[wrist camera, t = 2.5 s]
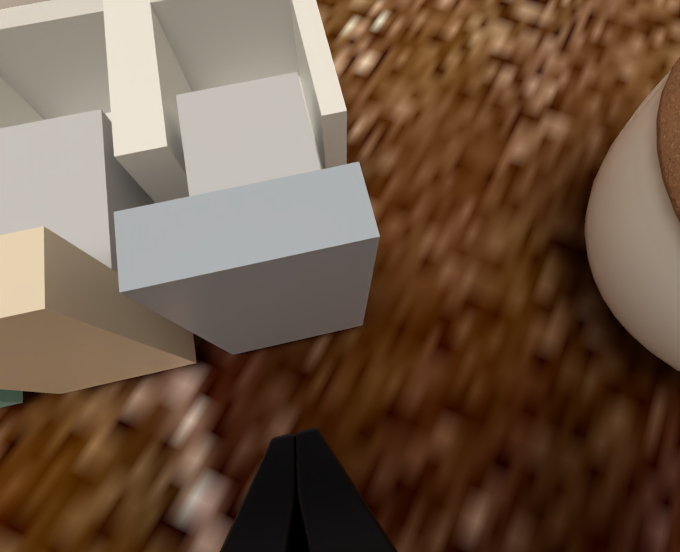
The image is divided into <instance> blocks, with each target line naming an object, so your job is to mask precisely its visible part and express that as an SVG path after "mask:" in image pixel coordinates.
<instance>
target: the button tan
mask: <svg viewBox="0 0 680 552" xmlns="http://www.w3.org/2000/svg"><path fill="white" fill-rule="evenodd" d="M150 204H155V202H154V201H153V200H152V199H151V197H150V196H149V195H148V194H147V193H146V192H145V191H144V190H143V188H142V187H141V186H140V185H139V184H138V183H137V182H136V181H135V179H134V178H133V177H132V176H131V175H130V174H129V173H128V172H127V170H126V169H125V168H124V167H123V166H122V165H121V164H120V163H119V161H118V160H117V159H116V158H115V157H114V148H113V134H112V122H111V121H110V119H109V118H108V117H107V116H106V114H105V113H104V112H103V111H102V109H99V110H94V111H89V112H83V113H78V114H73V115H68V116H62V117H57V118H52V119H47V120H41V121H36V122H31V123H26V124H20V125H15V126H10V127H4V128H0V389H4V390H16V391H29V392H42V393H55V394H63V393H67V392H72V391H76V390H80V389H85V388H89V387H94V386H98V385H102V384H107V383H111V382H116V381H120V380H124V379H129V378H133V377H138V376H142V375H146V374H151V373H155V372H160V371H164V370H168V369H173V368H177V367H182V366H186V365H190V364H195V363H197V362H196V354H195V345H194V337H193V333H192V332H190V331H188V330H187V329H185V328H183V327H181V326H179V325H178V324H176V323H174V322H172V321H170V320H168V319H167V318H165V317H163V316H161V315H159V314H157V313H156V312H154V311H152V310H150V309H148V308H147V307H145V306H143V305H141V304H139V303H137V302H136V301H134V300H132V299H130V298H128V297H126V296H125V295H123V294H121V293H119V281H118V267H117V253H116V238H115V224H114V212H116V211H120V210H125V209H130V208H135V207H140V206H145V205H150Z"/></svg>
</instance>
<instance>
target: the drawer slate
mask: <svg viewBox="0 0 680 552" xmlns="http://www.w3.org/2000/svg"><path fill="white" fill-rule="evenodd" d="M176 99H177V107H178V114H179V122H180V129H181V137H182V144H183V152H184V160H185V167H186V175H187V182H188V190H189V197H184V198H179V199H174V200H169V201H164V202H160V203H155V204H150V205H145V206H140V207H135V208H130V209H125V210H120V211H116V212H114V224H115V238H116V253H117V267H118V281H119V293H121V294H123V295H125V296H126V297H128V298H130V299H132V300H134V301H136V302H137V303H139V304H141V305H143V306H145V307H147V308H148V309H150V310H152V311H154V312H156V313H157V314H159V315H161V316H163V317H165V318H167V319H168V320H170V321H172V322H174V323H176V324H178V325H179V326H181V327H183V328H185V329H187V330H188V331H190V332H192V333H194V334H196V335H198V336H199V337H201V338H203V339H205V340H207V341H209V342H210V343H212V344H214V345H216V346H218V347H219V348H221V349H223V350H225V351H227V352H229V353H230V354H232V355H234V354H239V353H243V352H248V351H252V350H256V349H261V348H265V347H270V346H274V345H278V344H283V343H287V342H292V341H296V340H300V339H305V338H309V337H314V336H318V335H322V334H327V333H331V332H336V331H340V330H344V329H349V328H353V327H358V326H362V325H363V321H364V316H365V311H366V306H367V300H368V295H369V290H370V285H371V280H372V274H373V269H374V264H375V259H376V254H377V249H378V243H379V238H380V235H379V232H378V228H377V224H376V221H375V217H374V214H373V210H372V206H371V203H370V199H369V196H368V192H367V188H366V185H365V181H364V178H363V174H362V171H361V167H360V163H359V162H355V163H350V164H346V165H341V166H336V167H331V168H326V169H321V167H320V163H319V159H318V155H317V151H316V147H315V143H314V139H313V135H312V130H311V126H310V122H309V118H308V114H307V110H306V106H305V102H304V98H303V94H302V90H301V86H300V81H299V77H298V73H297V72H294V73H289V74H283V75H278V76H273V77H267V78H262V79H257V80H252V81H246V82H241V83H236V84H231V85H225V86H220V87H215V88H210V89H204V90H199V91H194V92H189V93H183V94H178V95H176Z"/></svg>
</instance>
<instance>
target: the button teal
mask: <svg viewBox="0 0 680 552" xmlns="http://www.w3.org/2000/svg"><path fill="white" fill-rule="evenodd" d="M19 403H23V391H16V390H4V389H0V408H1V407H6V406H10V405H14V404H19Z"/></svg>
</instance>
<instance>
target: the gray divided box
mask: <svg viewBox="0 0 680 552" xmlns="http://www.w3.org/2000/svg"><path fill="white" fill-rule="evenodd" d="M294 72H297V73H298V77H299V81H300V86H301V90H302V94H303V98H304V102H305V106H306V110H307V114H308V118H309V122H310V126H311V130H312V135H313V139H314V143H315V147H316V151H317V155H318V159H319V163H320V167H321V169H326V168H331V167H336V166H341V165H346V164H347V110H346V106H345V102H344V99H343V95H342V92H341V88H340V85H339V81H338V77H337V74H336V70H335V67H334V63H333V60H332V56H331V52H330V49H329V45H328V42H327V38H326V35H325V31H324V27H323V24H322V20H321V17H320V13H319V10H318V6H317V2H316V0H52V1H46V2H40V3H34V4H29V5H23V6H17V7H11V8H6V9H0V128H4V127H10V126H15V125H20V124H26V123H31V122H36V121H41V120H47V119H52V118H57V117H62V116H68V115H73V114H78V113H83V112H89V111H94V110H99V109H102V111H103V112H104V113H105V114H106V116H107V117H108V118H109V119H110V121H111V122H112V134H113V148H114V157H115V158H116V159H117V160H118V161H119V163H120V164H121V165H122V166H123V167H124V168H125V169H126V170H127V172H128V173H129V174H130V175H131V176H132V177H133V178H134V179H135V181H136V182H137V183H138V184H139V185H140V186H141V187H142V188H143V190H144V191H145V192H146V193H147V194H148V195H149V196H150V197H151V199H152V200H153V201H154V202H155V203H160V202H164V201H169V200H174V199H179V198H184V197H189V190H188V182H187V175H186V167H185V160H184V152H183V144H182V137H181V129H180V122H179V114H178V107H177V99H176V95H178V94H183V93H189V92H194V91H199V90H204V89H210V88H215V87H220V86H225V85H231V84H236V83H241V82H246V81H252V80H257V79H262V78H267V77H273V76H278V75H283V74H289V73H294Z"/></svg>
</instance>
